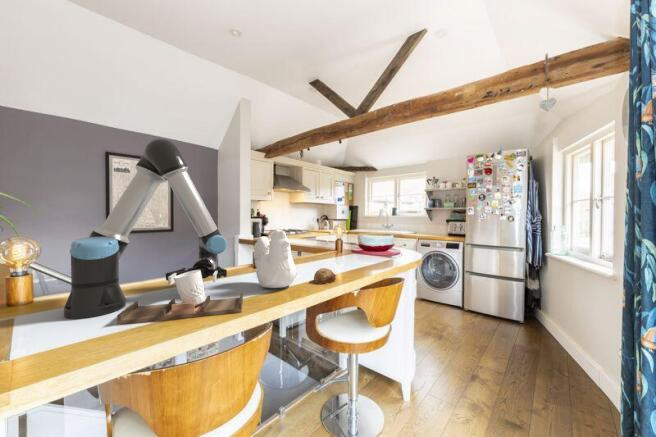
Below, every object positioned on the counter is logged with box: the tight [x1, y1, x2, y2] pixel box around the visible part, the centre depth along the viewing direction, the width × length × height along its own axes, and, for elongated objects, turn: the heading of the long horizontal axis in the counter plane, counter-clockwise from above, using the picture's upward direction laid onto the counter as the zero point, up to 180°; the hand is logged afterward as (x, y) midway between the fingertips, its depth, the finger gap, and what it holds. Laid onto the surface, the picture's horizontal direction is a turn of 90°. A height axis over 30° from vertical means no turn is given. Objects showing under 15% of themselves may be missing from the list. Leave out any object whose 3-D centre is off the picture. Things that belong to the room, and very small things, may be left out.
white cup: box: [174, 270, 207, 305], centre depth 86 cm, size 8×8×10 cm
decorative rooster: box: [252, 228, 298, 289], centre depth 117 cm, size 25×16×25 cm, turn 35°
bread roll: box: [313, 267, 336, 285], centre depth 122 cm, size 10×10×8 cm
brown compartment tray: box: [116, 292, 244, 326], centre depth 85 cm, size 33×12×4 cm, turn 106°
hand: (192, 279), depth 89 cm, fingers open, 13 cm apart
